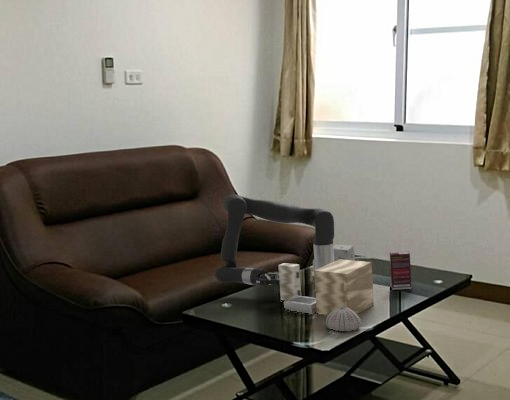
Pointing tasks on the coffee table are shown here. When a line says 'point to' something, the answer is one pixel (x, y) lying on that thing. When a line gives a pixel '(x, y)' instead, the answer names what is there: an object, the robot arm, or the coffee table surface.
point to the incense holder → (344, 252)
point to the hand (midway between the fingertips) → (284, 280)
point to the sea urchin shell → (343, 319)
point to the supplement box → (400, 270)
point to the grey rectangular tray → (301, 304)
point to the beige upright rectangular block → (289, 280)
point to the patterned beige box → (343, 286)
